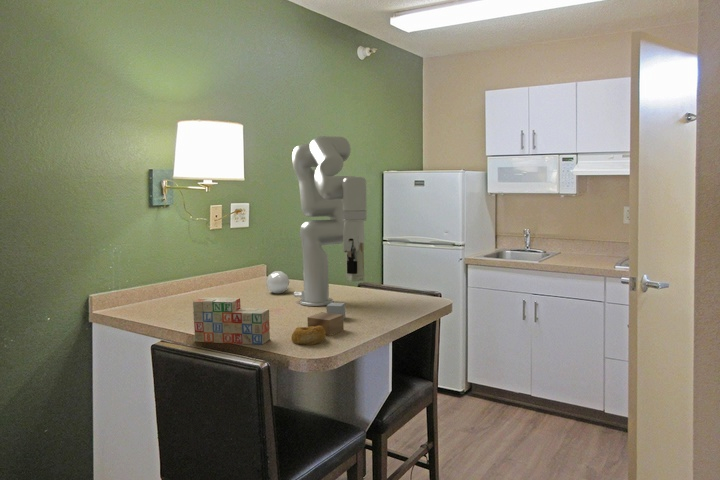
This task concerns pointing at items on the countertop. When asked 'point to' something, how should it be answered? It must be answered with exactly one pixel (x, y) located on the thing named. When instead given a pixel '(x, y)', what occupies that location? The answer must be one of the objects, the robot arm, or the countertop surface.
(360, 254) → the skincare box
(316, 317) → the walnut block
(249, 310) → the stack of blocks
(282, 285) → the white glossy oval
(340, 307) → the grey block
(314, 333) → the bagel
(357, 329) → the countertop surface
